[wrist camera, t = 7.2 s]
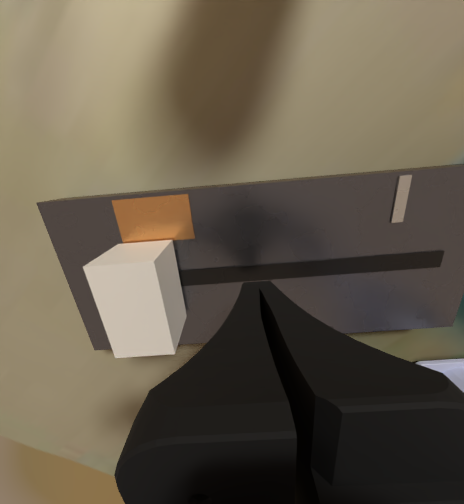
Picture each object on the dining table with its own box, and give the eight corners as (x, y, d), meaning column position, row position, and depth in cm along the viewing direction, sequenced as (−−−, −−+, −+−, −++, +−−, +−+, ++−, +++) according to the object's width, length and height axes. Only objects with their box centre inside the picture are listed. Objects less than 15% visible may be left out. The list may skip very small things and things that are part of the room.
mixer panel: (426, 308, 16) (453, 327, 14) (109, 330, 17) (93, 351, 15) (467, 163, 13) (510, 162, 11) (64, 198, 13) (34, 203, 11)
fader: (186, 316, 13) (174, 353, 11) (139, 319, 14) (115, 357, 11) (172, 239, 12) (154, 261, 9) (118, 244, 12) (82, 266, 9)
